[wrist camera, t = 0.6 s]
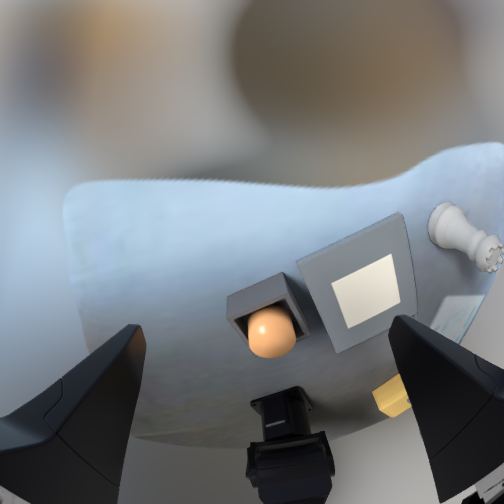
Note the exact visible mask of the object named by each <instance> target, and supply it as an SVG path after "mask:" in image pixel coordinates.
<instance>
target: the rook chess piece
mask: <svg viewBox="0 0 504 504" xmlns="http://www.w3.org/2000/svg"><path fill="white" fill-rule="evenodd" d="M428 232H429V236H430V239H431V240H432V242H433V243H434V244H437V245H439V247H442V248H445V249H455V248H456V249H458V250H460V251H462V252H464V253H465V254H467V255H468V257H469V259H470V260H471V261H476V263H477V267H478V269H479V271H481V272H485V271H487V272H489V273H491V274H492V271H494V272H496V271H497V270H498V267H497V266H496V264H497V263H498V262H499V263H500V264H502V262H503V260H504V259H503V258H502V257H500V256H501V254H503V255H504V248H503V246H504V245H502V244H501V242H500V239H499V237H498V236H497V235H491V236H488V235H487V233H486V231H484V230H478V229H477V228H476V227H474V226H473V225H472V224H471V223H470V222H469V221H468V219H467V217H466V215H465V214H464V212H463V210H462V209H461V208H460V207H458V206H456V205H455V204H453V203H451V202H444V203H442V204H440V205H439V206H438V207H436V208H435V209H434V211H433V212H432V214H431V216H430V219H429V224H428Z"/></svg>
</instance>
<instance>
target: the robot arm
mask: <svg viewBox="0 0 504 504" xmlns="http://www.w3.org/2000/svg"><path fill="white" fill-rule="evenodd" d="M388 338H389V341H390V345H391V348H392V351H393V355H394V358H395V362H396V365H397V368H398V371H399V374H400V377H401V379H402V382H403V384H404V387H405V390H406V392H407V395H408V398H409V400H410V403H411V406H412V409H413V412H414V414H415V417H416V420H417V423H418V426H419V429H420V432H421V435H422V439H423V442H424V445H425V448H426V452H427V455H428V459H429V463H430V466H431V470H432V473H433V478H434V481H435V486H436V489H437V494H438V499H439V502H440V503H443V502H445V501H447V500H448V499H450V498H452V497H454V496H455V495H457V494H459V493H461V492H462V491H464V490H466V489H467V488H469V487H470V486H472V485H475V487H476V490H477V491H475V492H474V493H472V494H471V495H470V496H468V497H466V498H465V499H463V501H462V503H461V504H504V369H501V368H500V367H498V366H496V365H494V364H492V363H490V362H488V361H486V360H484V359H483V358H481V357H479V356H477V355H476V354H474V353H472V352H471V351H469V350H467V349H465V348H464V347H462V346H460V345H458V344H457V343H455V342H453V341H452V340H450V339H448V338H446V337H445V336H443V335H441V334H439V333H437V332H436V331H434V330H432V329H430V328H429V327H427V326H425V325H423V324H422V323H420V322H418V321H416V320H414V319H413V318H411V317H409V316H407V315H405V314H402V315H396V316H395V317H394V319H393V322H392V324H391V327H390V330H389V333H388ZM145 353H146V341H145V338H144V334H143V331H142V328H141V326H140V325H138V324H128V325H127V326H126V327H124V328H123V329H122V330H121V331H119V332H118V333H117V334H115V335H114V336H113V337H112V338H110V339H109V340H108V341H106V342H105V343H104V344H103V345H101V346H100V347H99V348H98V349H96V350H95V351H94V352H92V353H91V354H90V355H89V356H87V357H86V358H85V359H84V360H82V361H81V362H80V363H79V364H77V365H76V366H75V367H74V368H72V369H71V370H70V371H69V372H67V373H66V374H65V375H64V376H62V378H60V379H59V380H57V381H56V382H55V383H54V384H52V385H51V386H50V387H49V388H47V389H46V390H45V391H43V392H42V393H40V394H39V395H37V396H36V397H35V398H33V399H32V400H30V401H29V402H27V403H26V404H24V405H23V406H21V407H20V408H18V409H17V410H15V411H13V412H12V413H10V414H9V415H7V416H5V417H1V418H0V504H117V500H118V495H119V487H120V481H121V474H122V469H123V464H124V458H125V453H126V448H127V443H128V438H129V434H130V429H131V425H132V420H133V416H134V412H135V407H136V403H137V399H138V395H139V391H140V387H141V381H142V374H143V366H144V360H145ZM250 406H251V407H252V408H253V409H254V410H255V411H257V412H258V413H259V414H260V415H261V417H262V429H263V440H264V442H250V447H249V448H247V453H248V454H247V455H248V461H247V468H246V477H247V479H249V480H250V481H251V484H252V486H253V488H254V489H258V493H259V498H260V500H261V501H262V502H263V503H264V504H325V502H326V500H327V497H328V495H329V493H330V491H331V488H332V482H331V477H334V475H335V466H334V460H333V456H332V453H331V450H330V447H329V444H328V441H327V437H326V434H325V431H320V432H319V433H314V434H311V430H310V426H309V421H308V416H307V412H310V411H312V410H313V407H312V405H311V404H310V402H309V401H308V400H307V398H306V397H305V395H304V394H303V393H302V391H301V390H300V388H299V387H293V388H290V389H287V390H284V391H282V392H279V393H276V394H272V395H269V396H266V397H263V398H260V399H256V400H253V401H251V402H250Z"/></svg>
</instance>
